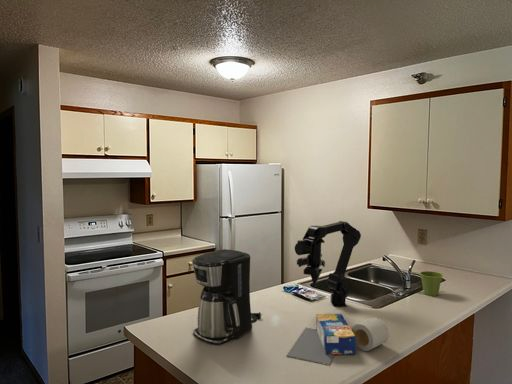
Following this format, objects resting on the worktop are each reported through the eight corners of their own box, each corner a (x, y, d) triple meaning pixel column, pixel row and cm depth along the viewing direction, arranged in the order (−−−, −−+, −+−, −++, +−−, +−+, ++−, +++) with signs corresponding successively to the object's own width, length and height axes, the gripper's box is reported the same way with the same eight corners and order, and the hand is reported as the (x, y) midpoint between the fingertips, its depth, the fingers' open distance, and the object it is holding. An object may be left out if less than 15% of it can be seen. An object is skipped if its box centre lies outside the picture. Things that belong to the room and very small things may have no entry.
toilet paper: (366, 338, 155) (366, 314, 154) (388, 347, 147) (388, 322, 147) (350, 345, 149) (351, 320, 148) (372, 355, 141) (373, 329, 140)
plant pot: (435, 290, 213) (436, 270, 212) (447, 297, 201) (447, 277, 200) (414, 290, 213) (415, 270, 212) (425, 298, 201) (425, 277, 200)
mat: (305, 328, 164) (305, 327, 164) (343, 334, 158) (343, 333, 158) (286, 356, 140) (286, 355, 140) (329, 365, 134) (329, 364, 134)
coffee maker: (184, 340, 154) (182, 258, 151) (220, 311, 184) (220, 242, 181) (235, 350, 145) (234, 263, 143) (264, 318, 175) (264, 246, 173)
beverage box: (316, 314, 162) (325, 336, 141) (341, 314, 163) (355, 336, 141) (316, 329, 163) (325, 354, 141) (341, 329, 163) (355, 354, 141)
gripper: (303, 247, 193) (303, 277, 194) (292, 255, 176) (292, 288, 177) (325, 249, 189) (325, 279, 190) (316, 257, 171) (316, 291, 173)
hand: (314, 284), depth 182 cm, fingers closed
